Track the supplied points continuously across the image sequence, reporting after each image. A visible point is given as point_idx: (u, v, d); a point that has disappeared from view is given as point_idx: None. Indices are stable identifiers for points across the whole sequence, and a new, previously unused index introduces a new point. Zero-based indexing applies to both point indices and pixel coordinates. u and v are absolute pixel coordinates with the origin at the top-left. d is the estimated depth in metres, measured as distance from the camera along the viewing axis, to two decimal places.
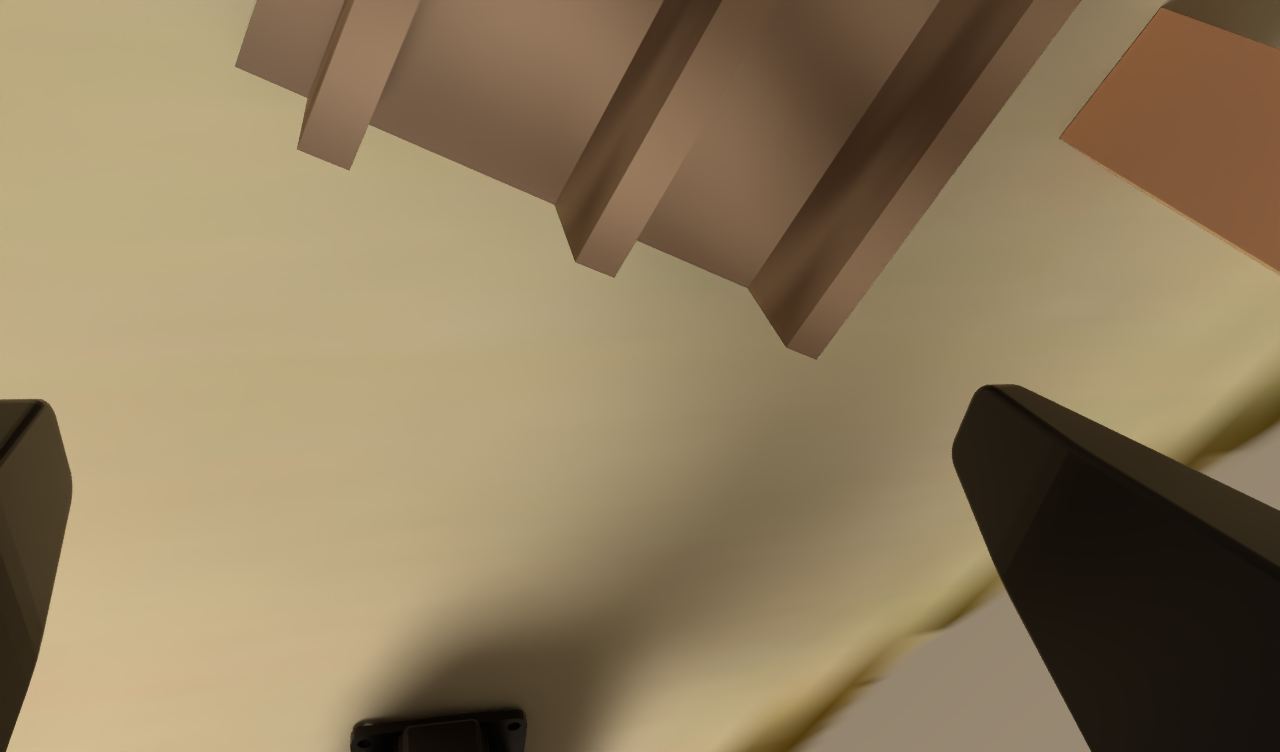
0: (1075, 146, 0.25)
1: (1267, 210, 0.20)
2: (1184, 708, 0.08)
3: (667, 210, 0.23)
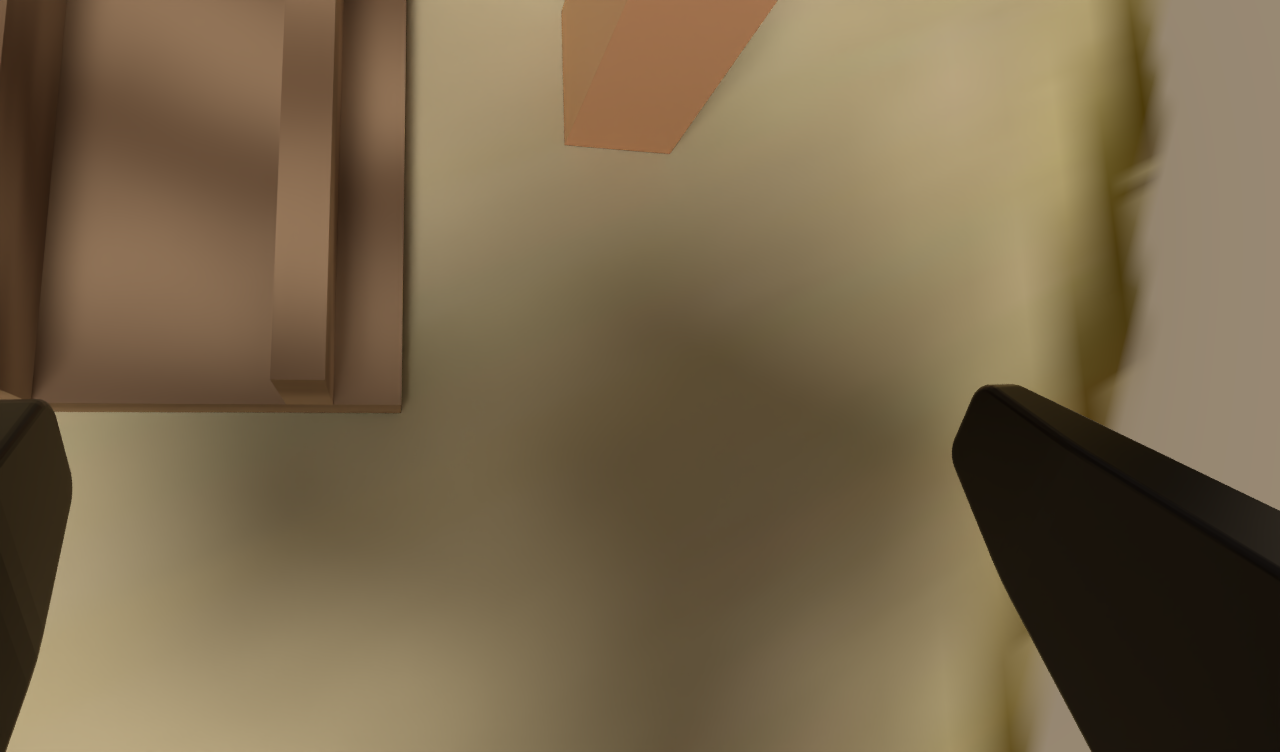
0: (569, 132, 0.24)
1: None
2: (1184, 708, 0.08)
3: (125, 355, 0.20)
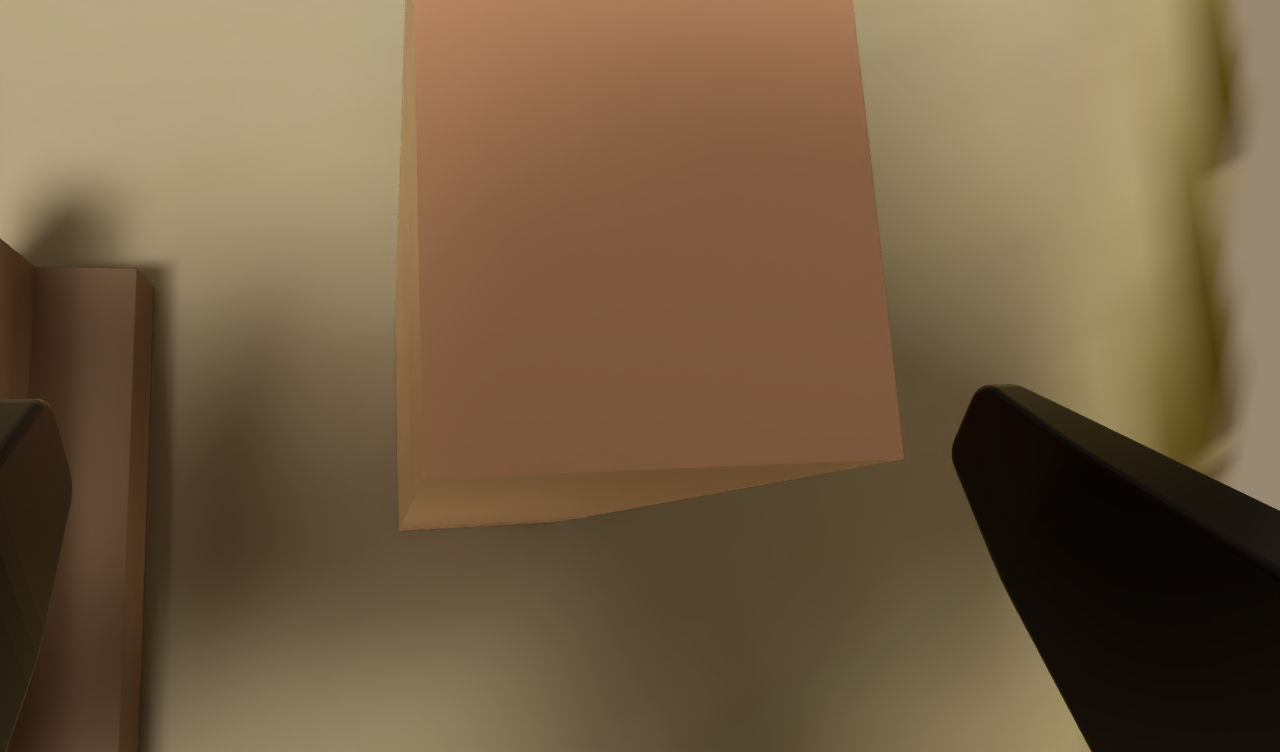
0: (398, 528, 0.16)
1: (402, 438, 0.11)
2: (1184, 708, 0.08)
3: None
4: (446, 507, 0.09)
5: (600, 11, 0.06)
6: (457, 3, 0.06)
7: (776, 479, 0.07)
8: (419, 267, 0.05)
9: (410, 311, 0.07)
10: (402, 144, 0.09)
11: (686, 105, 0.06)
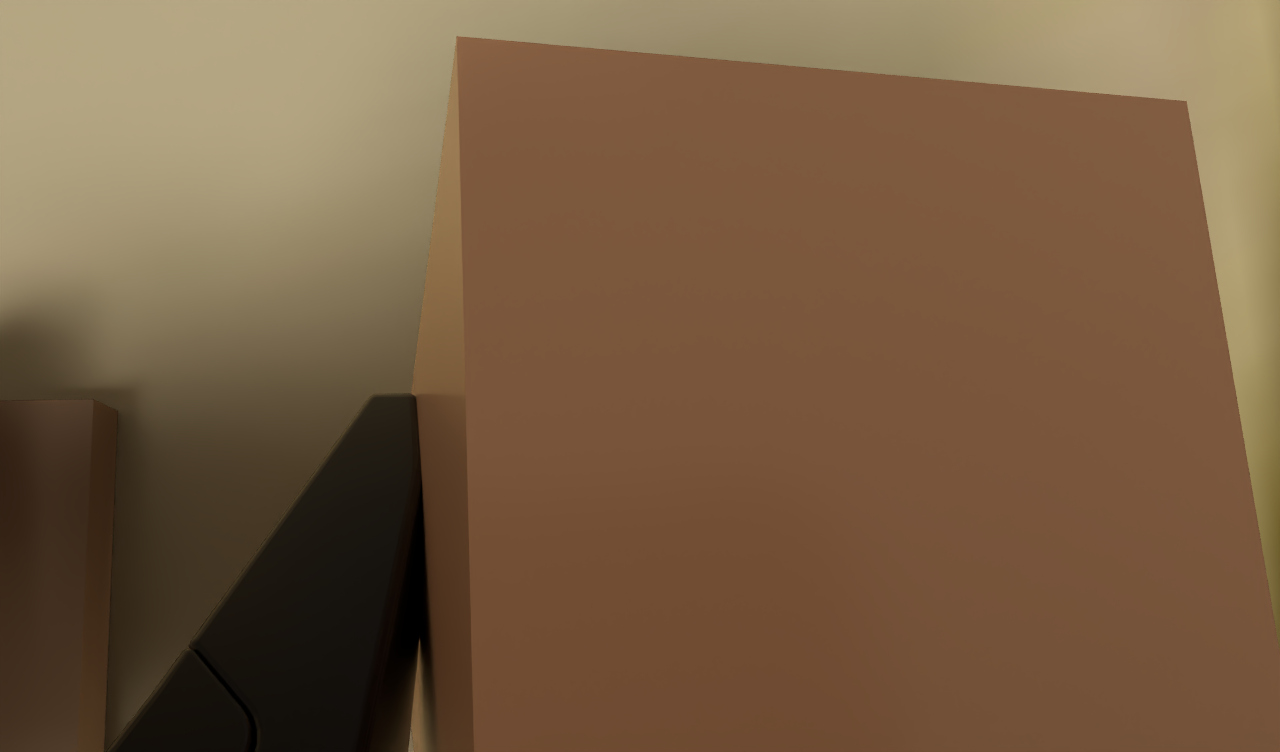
0: None
1: (420, 709, 0.08)
2: None
3: None
4: None
5: (807, 349, 0.03)
6: (549, 368, 0.03)
7: None
8: None
9: (441, 736, 0.04)
10: (422, 362, 0.06)
11: (964, 516, 0.03)
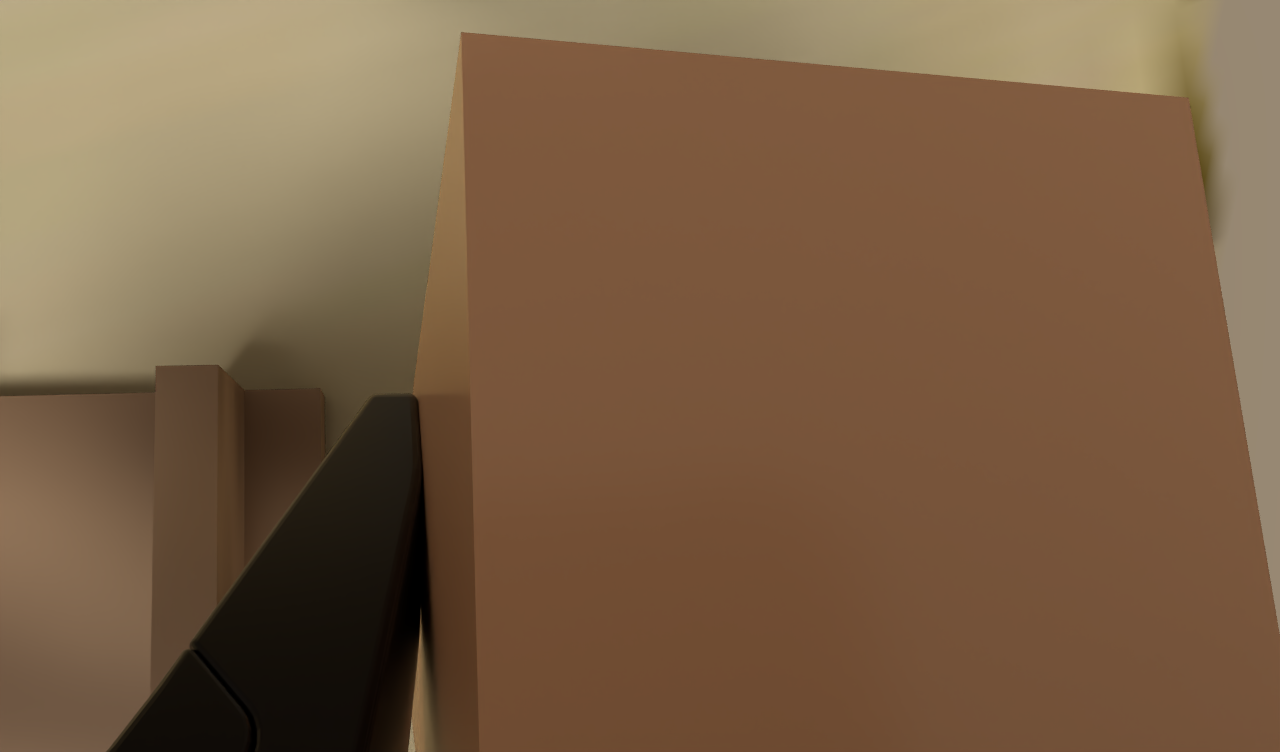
0: None
1: (421, 705, 0.08)
2: None
3: None
4: None
5: (810, 343, 0.03)
6: (554, 363, 0.03)
7: None
8: None
9: (445, 732, 0.04)
10: (425, 360, 0.06)
11: (968, 513, 0.03)
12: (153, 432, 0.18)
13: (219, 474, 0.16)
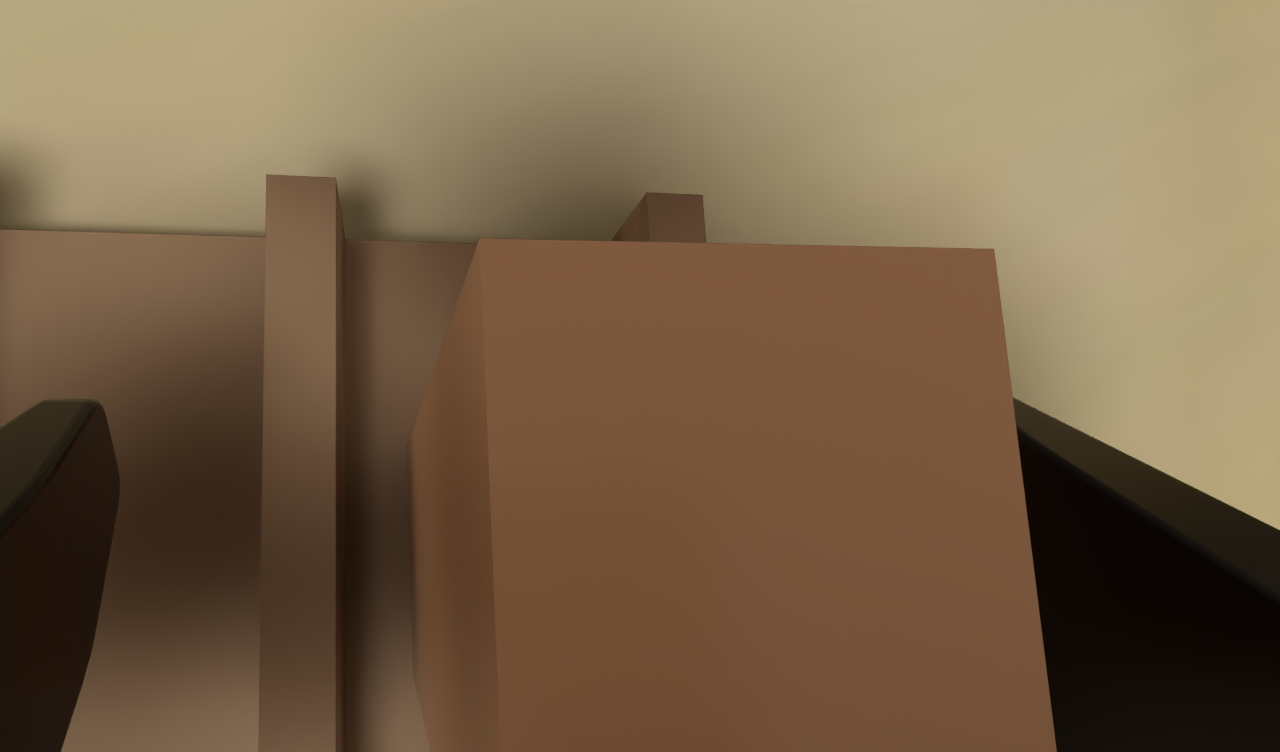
0: (414, 679, 0.15)
1: (434, 684, 0.10)
2: (1148, 713, 0.07)
3: None
4: None
5: (715, 440, 0.05)
6: (543, 462, 0.04)
7: None
8: None
9: (464, 703, 0.06)
10: (437, 407, 0.08)
11: (822, 550, 0.05)
12: None
13: None
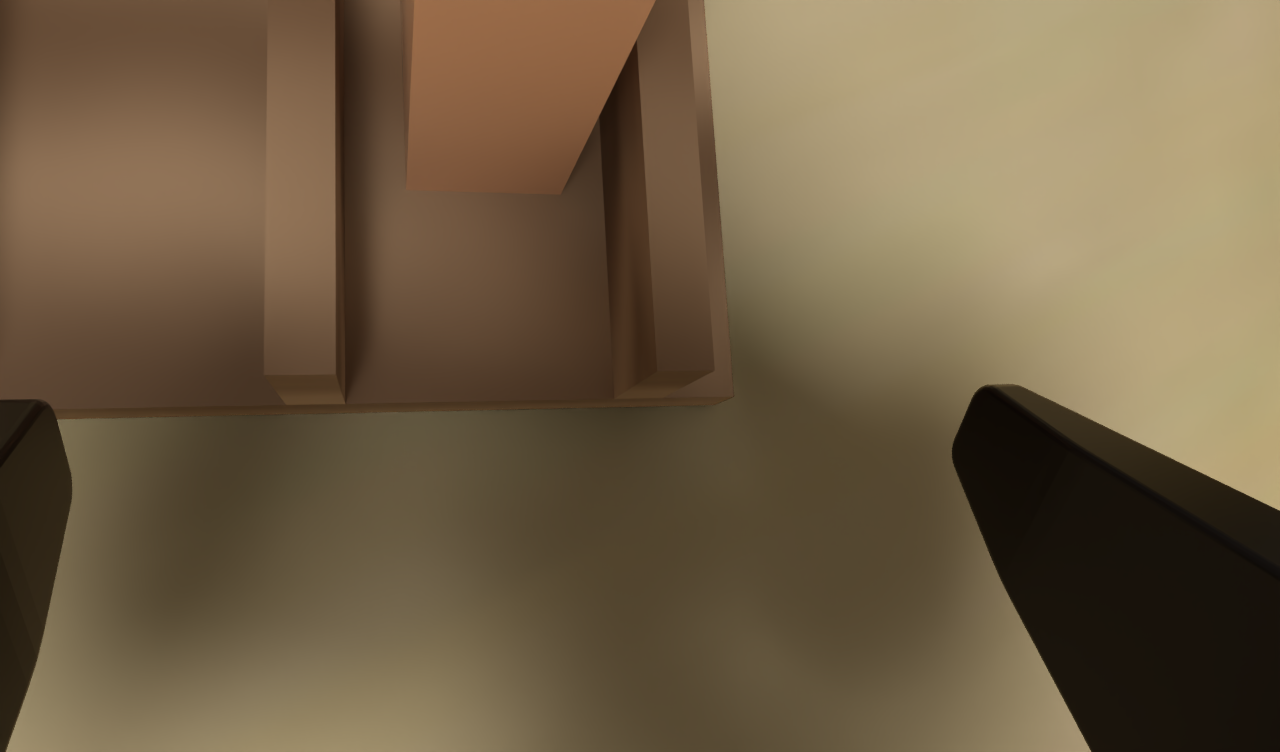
0: (406, 173, 0.17)
1: None
2: (1184, 708, 0.08)
3: (440, 346, 0.17)
4: None
5: None
6: None
7: None
8: None
9: None
10: None
11: None
12: None
13: None
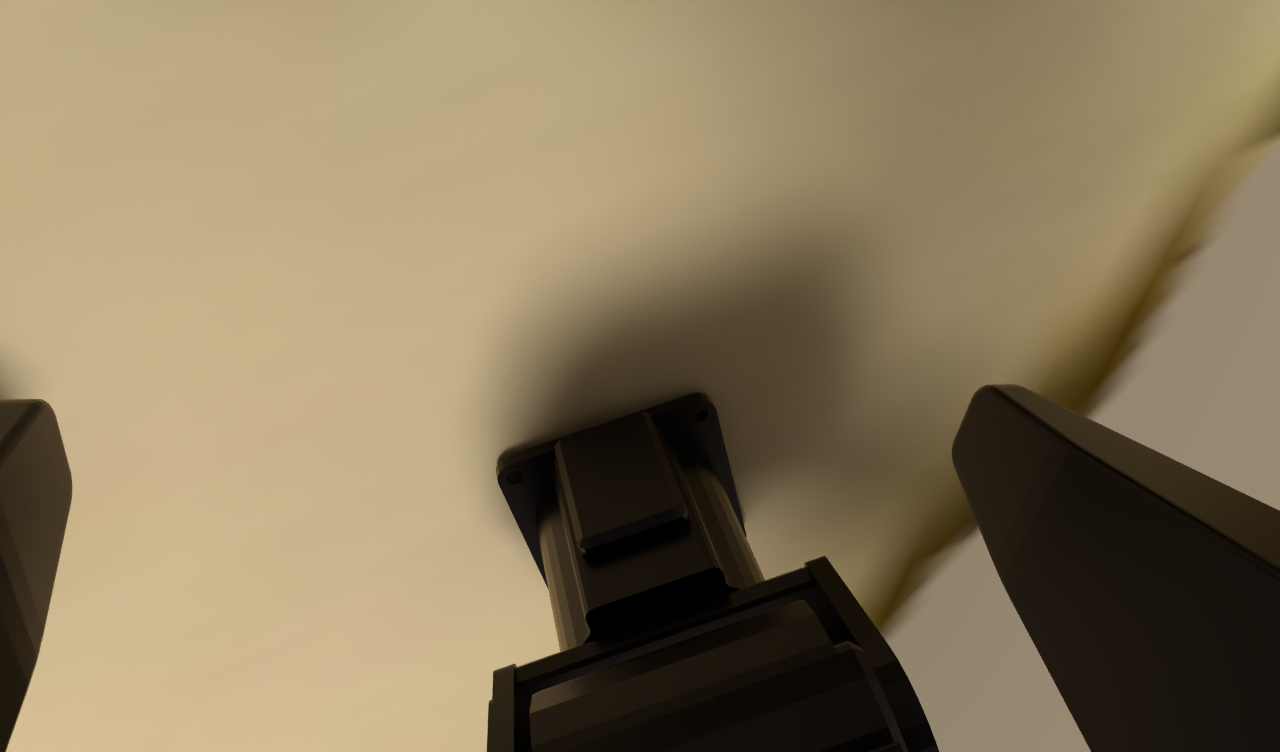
0: None
1: None
2: (1184, 708, 0.08)
3: None
4: None
5: None
6: None
7: None
8: None
9: None
10: None
11: None
12: None
13: None
